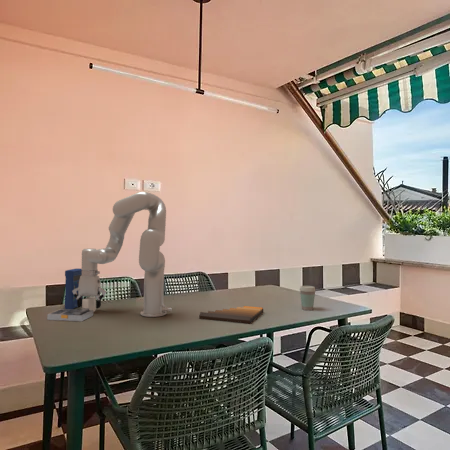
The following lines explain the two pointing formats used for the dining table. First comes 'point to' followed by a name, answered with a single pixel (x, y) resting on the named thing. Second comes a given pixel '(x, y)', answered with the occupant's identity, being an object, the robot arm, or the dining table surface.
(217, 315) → the pan flute
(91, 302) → the block
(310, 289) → the coffee cup
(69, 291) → the electronic device
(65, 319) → the rack
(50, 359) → the dining table surface
